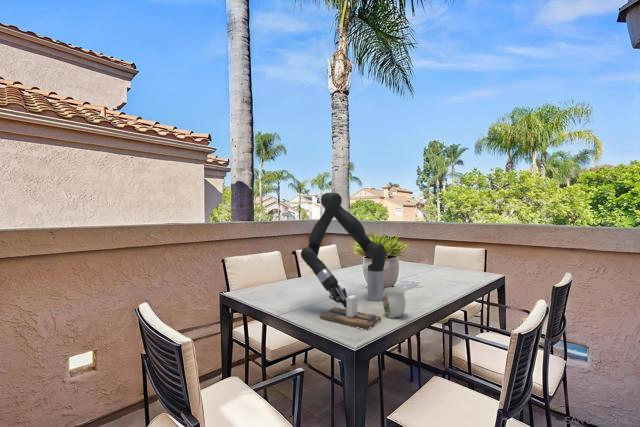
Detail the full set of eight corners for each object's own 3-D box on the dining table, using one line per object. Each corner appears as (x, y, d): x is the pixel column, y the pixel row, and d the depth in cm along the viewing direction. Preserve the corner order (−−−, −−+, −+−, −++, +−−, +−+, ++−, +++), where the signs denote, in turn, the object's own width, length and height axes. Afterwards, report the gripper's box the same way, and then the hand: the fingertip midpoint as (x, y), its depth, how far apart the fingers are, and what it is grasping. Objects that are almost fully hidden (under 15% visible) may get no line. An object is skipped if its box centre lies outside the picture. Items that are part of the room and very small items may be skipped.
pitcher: (394, 308, 168) (394, 283, 167) (412, 320, 150) (412, 292, 150) (375, 310, 165) (375, 284, 164) (392, 322, 147) (392, 293, 147)
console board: (334, 310, 164) (334, 303, 164) (380, 320, 150) (380, 312, 149) (319, 318, 153) (319, 310, 153) (367, 330, 138) (367, 321, 138)
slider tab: (351, 313, 153) (351, 295, 153) (357, 314, 152) (357, 296, 152) (346, 316, 149) (346, 297, 149) (352, 317, 148) (352, 298, 147)
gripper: (324, 277, 151) (346, 306, 145) (338, 272, 162) (359, 299, 156) (315, 286, 155) (336, 315, 148) (330, 281, 165) (350, 308, 159)
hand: (348, 307), depth 152 cm, fingers closed
